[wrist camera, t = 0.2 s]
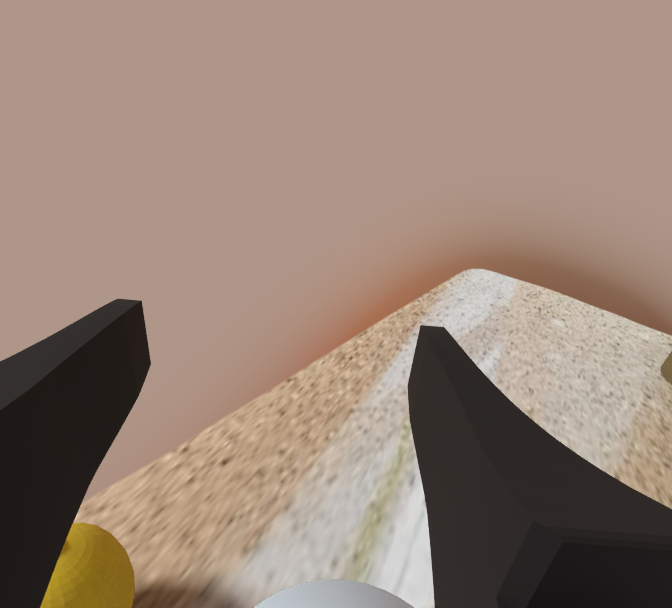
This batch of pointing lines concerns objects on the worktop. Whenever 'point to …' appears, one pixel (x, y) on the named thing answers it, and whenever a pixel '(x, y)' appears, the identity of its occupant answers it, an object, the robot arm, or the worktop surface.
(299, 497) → the worktop surface
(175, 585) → the worktop surface
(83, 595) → the lemon
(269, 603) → the lid
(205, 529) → the worktop surface
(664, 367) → the cork
